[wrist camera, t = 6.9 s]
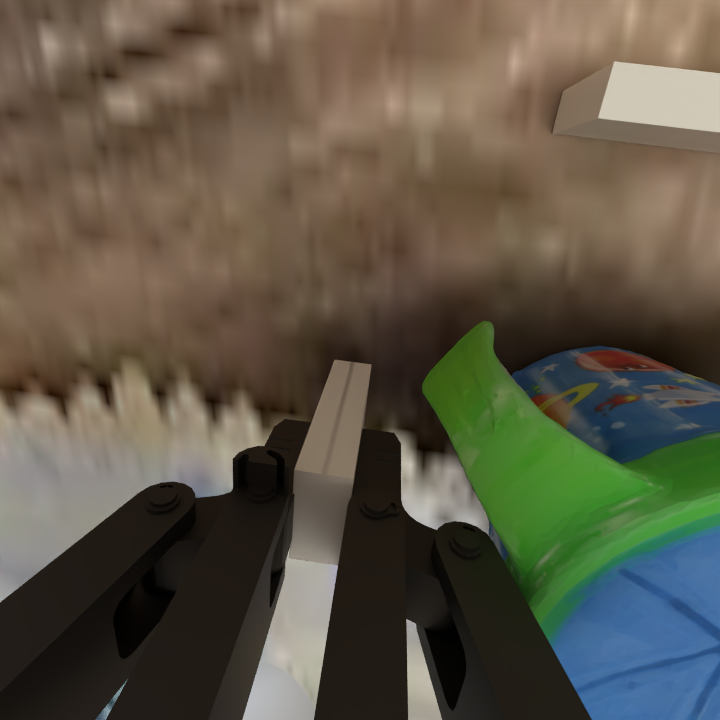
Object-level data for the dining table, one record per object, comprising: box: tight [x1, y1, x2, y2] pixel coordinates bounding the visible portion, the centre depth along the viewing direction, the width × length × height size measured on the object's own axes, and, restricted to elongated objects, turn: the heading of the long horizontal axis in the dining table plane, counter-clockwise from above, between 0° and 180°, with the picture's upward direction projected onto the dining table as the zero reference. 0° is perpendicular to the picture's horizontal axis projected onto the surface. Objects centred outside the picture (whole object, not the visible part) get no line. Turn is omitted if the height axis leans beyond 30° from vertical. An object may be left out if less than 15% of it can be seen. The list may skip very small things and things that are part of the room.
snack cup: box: [422, 321, 720, 720], centre depth 13 cm, size 16×11×10 cm
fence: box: [552, 61, 720, 153], centre depth 15 cm, size 15×20×5 cm
